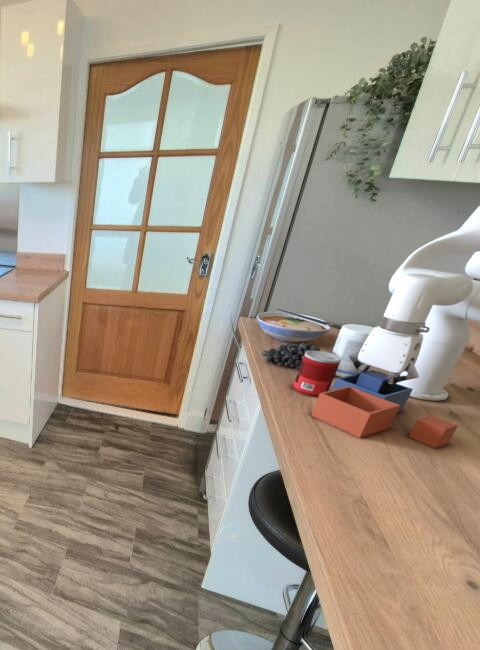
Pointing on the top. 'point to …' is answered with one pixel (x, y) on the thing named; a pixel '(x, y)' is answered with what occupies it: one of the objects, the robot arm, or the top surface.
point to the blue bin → (397, 395)
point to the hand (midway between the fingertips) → (370, 390)
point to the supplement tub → (349, 346)
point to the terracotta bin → (355, 411)
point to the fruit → (289, 354)
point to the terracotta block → (433, 431)
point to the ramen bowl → (293, 326)
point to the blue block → (372, 380)
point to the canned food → (316, 372)
